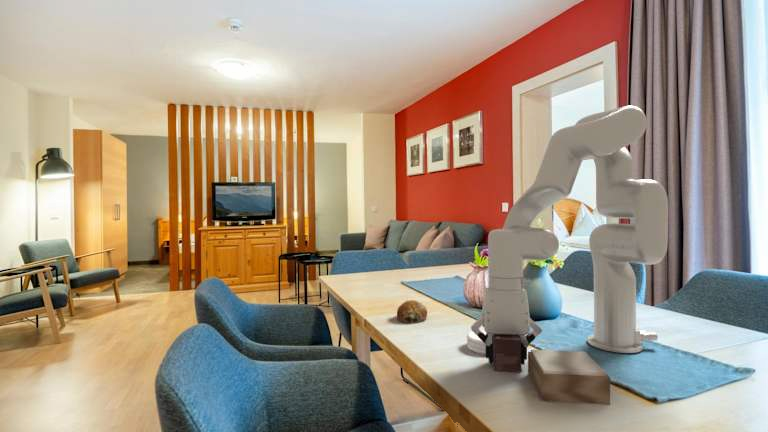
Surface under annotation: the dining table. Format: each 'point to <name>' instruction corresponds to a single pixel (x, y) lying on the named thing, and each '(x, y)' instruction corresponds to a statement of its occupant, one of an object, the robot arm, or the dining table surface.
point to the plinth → (568, 377)
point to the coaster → (476, 343)
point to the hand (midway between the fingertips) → (506, 361)
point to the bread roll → (411, 312)
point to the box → (506, 352)
